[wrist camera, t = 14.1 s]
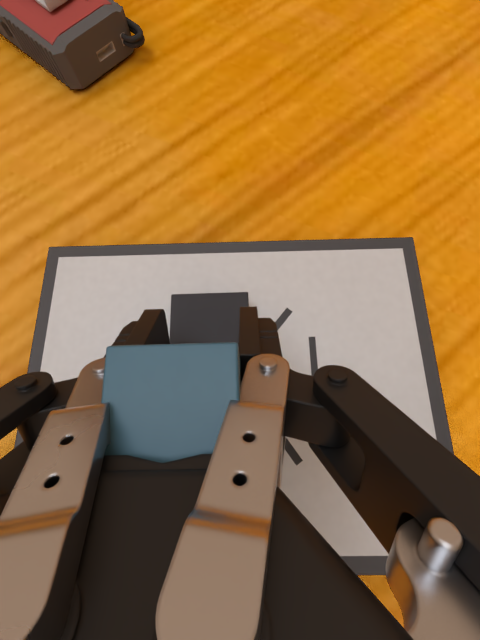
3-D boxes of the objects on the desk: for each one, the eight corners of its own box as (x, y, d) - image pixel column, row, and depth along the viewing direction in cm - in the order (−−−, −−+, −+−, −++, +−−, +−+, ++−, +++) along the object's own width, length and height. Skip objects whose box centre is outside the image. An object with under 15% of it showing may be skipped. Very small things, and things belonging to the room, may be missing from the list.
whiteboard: (462, 564, 15) (479, 576, 14) (8, 566, 16) (-12, 578, 15) (404, 245, 20) (414, 235, 19) (58, 255, 21) (47, 245, 19)
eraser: (256, 549, 15) (271, 775, 5) (169, 551, 15) (39, 777, 6) (248, 302, 18) (248, 186, 9) (177, 304, 18) (106, 191, 9)
